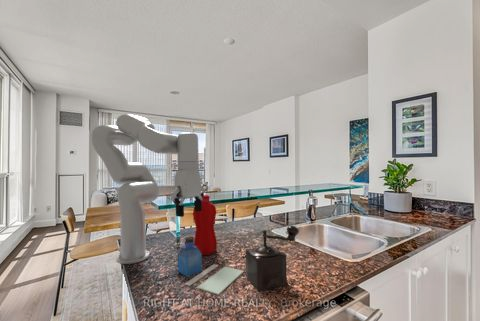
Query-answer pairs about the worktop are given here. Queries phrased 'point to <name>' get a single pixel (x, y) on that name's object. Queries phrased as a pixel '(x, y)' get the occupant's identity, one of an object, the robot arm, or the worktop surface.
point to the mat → (220, 280)
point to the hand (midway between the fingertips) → (189, 213)
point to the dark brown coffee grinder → (268, 263)
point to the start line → (201, 275)
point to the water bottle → (205, 227)
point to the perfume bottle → (189, 258)
